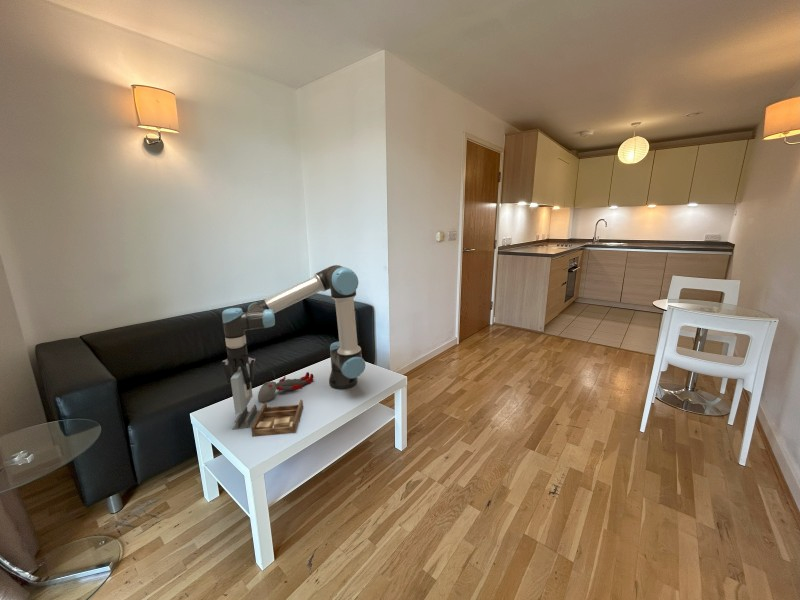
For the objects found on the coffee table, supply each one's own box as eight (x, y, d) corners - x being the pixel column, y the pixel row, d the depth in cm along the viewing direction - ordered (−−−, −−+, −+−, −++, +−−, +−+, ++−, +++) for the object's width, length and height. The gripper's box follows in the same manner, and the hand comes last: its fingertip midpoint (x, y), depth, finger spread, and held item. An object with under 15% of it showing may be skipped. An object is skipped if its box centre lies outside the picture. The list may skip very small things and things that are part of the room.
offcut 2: (290, 421, 138) (289, 417, 137) (289, 426, 135) (289, 422, 134) (275, 423, 137) (274, 419, 136) (274, 428, 133) (273, 424, 133)
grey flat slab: (242, 413, 135) (237, 378, 131) (235, 414, 134) (230, 378, 131) (252, 396, 148) (248, 363, 144) (246, 396, 148) (242, 364, 144)
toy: (319, 376, 175) (267, 389, 151) (318, 393, 176) (266, 409, 152) (301, 368, 184) (250, 380, 161) (300, 385, 185) (249, 398, 161)
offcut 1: (272, 427, 137) (271, 421, 136) (269, 433, 134) (268, 426, 133) (260, 427, 137) (260, 421, 136) (257, 433, 134) (256, 426, 133)
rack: (303, 409, 152) (302, 399, 151) (295, 434, 134) (294, 424, 133) (265, 412, 150) (264, 402, 149) (252, 438, 132) (251, 427, 131)
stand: (242, 414, 149) (241, 405, 148) (261, 412, 150) (259, 403, 149) (232, 431, 136) (230, 422, 135) (252, 429, 137) (250, 420, 136)
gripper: (258, 341, 139) (264, 390, 145) (220, 343, 138) (227, 393, 143) (253, 347, 132) (259, 399, 138) (212, 349, 130) (220, 402, 136)
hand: (243, 396), depth 140 cm, fingers closed on grey flat slab, 3 cm apart
